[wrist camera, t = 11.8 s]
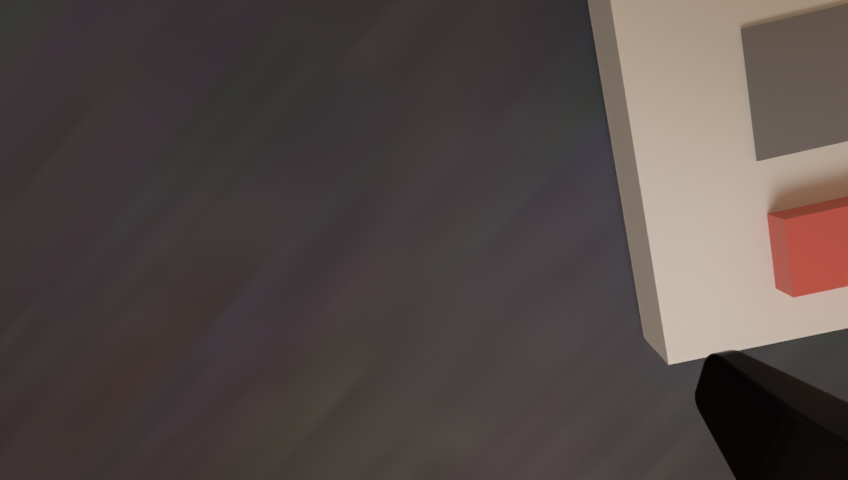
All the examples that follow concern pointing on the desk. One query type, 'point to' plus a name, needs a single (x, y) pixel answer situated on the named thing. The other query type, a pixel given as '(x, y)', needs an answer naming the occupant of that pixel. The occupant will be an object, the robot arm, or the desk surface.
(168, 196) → the desk surface
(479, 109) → the desk surface
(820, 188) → the power strip
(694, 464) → the desk surface
